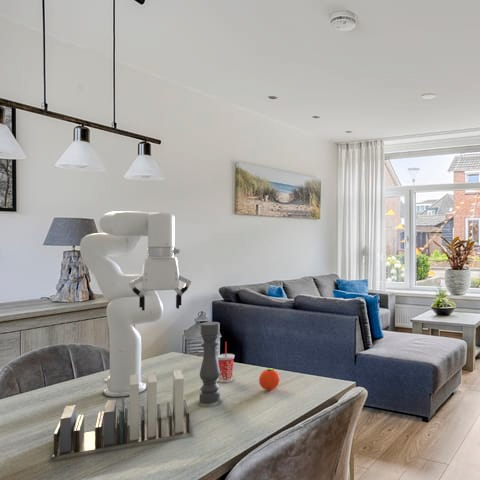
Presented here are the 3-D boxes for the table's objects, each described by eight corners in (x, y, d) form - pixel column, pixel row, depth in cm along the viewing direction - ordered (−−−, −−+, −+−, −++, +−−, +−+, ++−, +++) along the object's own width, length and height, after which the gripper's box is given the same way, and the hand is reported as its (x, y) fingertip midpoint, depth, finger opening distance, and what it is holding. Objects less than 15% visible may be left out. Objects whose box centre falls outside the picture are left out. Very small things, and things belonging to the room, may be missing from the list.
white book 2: (147, 437, 114) (148, 382, 114) (146, 424, 122) (147, 373, 122) (155, 436, 115) (156, 381, 115) (154, 423, 123) (155, 372, 123)
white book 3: (175, 433, 117) (175, 379, 117) (172, 420, 125) (172, 370, 125) (183, 431, 118) (183, 378, 118) (180, 419, 126) (180, 369, 126)
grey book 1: (59, 452, 106) (60, 418, 106) (65, 437, 114) (65, 406, 114) (70, 451, 107) (71, 417, 107) (75, 436, 115) (75, 404, 115)
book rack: (52, 461, 104) (52, 422, 104) (60, 440, 115) (60, 405, 115) (190, 436, 117) (190, 402, 117) (185, 419, 128) (185, 388, 128)
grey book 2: (103, 445, 110) (103, 412, 110) (106, 431, 118) (106, 400, 118) (114, 443, 111) (114, 411, 111) (115, 429, 119) (115, 399, 119)
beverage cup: (219, 384, 160) (219, 344, 160) (214, 379, 165) (215, 341, 165) (236, 381, 163) (236, 342, 163) (231, 376, 168) (231, 339, 168)
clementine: (264, 384, 159) (264, 364, 159) (283, 385, 158) (283, 365, 158) (255, 392, 152) (255, 371, 152) (275, 393, 150) (275, 372, 150)
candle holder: (213, 407, 138) (214, 325, 138) (195, 405, 139) (195, 324, 139) (223, 400, 144) (224, 322, 144) (206, 398, 145) (206, 321, 145)
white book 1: (129, 440, 112) (129, 384, 112) (130, 427, 120) (130, 375, 120) (138, 439, 113) (138, 383, 113) (138, 426, 121) (138, 374, 121)
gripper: (190, 252, 145) (189, 305, 145) (129, 252, 137) (129, 308, 137) (192, 253, 138) (191, 309, 138) (129, 253, 130) (128, 312, 130)
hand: (160, 308), depth 138 cm, fingers open, 9 cm apart
